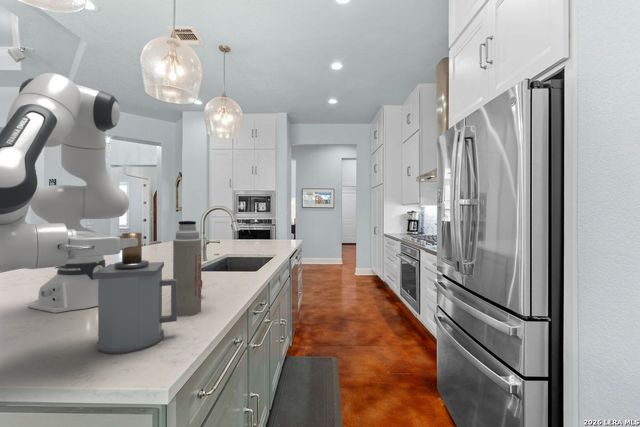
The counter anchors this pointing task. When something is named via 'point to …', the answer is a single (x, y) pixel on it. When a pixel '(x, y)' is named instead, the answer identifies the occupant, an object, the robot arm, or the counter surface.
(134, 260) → the brown candle holder
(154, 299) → the press carafe
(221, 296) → the counter surface
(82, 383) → the counter surface
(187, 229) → the thermos bottle
